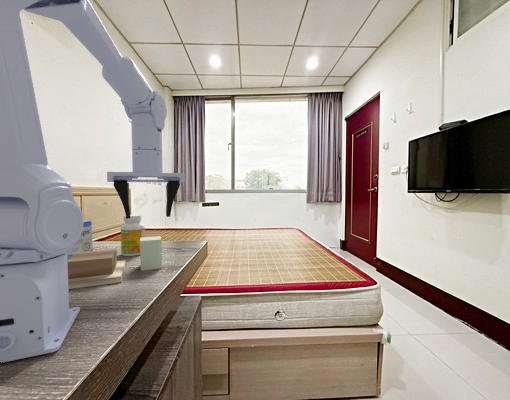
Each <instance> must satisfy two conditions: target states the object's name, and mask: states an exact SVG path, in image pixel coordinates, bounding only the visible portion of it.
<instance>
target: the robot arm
mask: <svg viewBox="0 0 510 400" xmlns="http://www.w3.org/2000/svg"><path fill="white" fill-rule="evenodd" d="M22 10H24V11H26V12H27V13H30V14H34V15H38V16H42V17H44V18H47V19H52V20H55V21H58V22H61V23H62V24H63V25H64V26H65V27H66V28H67V29H68V30H69V32H71V34H72V35H74V37H75V38H76V39H77V40H78V41H79V42H80V43H81V44H82V45H83V46H84V47H85V49H86V50H87V51H88V52H89V53H90V54H91V55H92V56H93V57H94V58H95V60H97V62H98V63H100V65H101V66H102V69H101V74H102V78H103V79H104V80H105V81H106V83H107V84H108V85H109V86H110V87H111V89H112V90H113V91H114V92H115V93H116V94H117V96H118V97H119V98H120V102H121V104H122V106H123V108H124V111H125V114H126V116H127V118H129V119H130V121H131V122H130V123H131V124H130V125H131V156H132V157H131V162H132V167H131V168H132V171H107V172H106V181H107V183H108V182H109V183H113V184H112V185H113V187H114V189H115V190H116V193H117V194H118V195H117V196H118V197H119V199H120V201H121V204H122V207H123V209H124V215H126V219H129V218H130V215H131V206H130V183H166V185H165V189H166V191H165V192H166V193H165V194H166V208H165V215H166V218H170V217H171V215H172V213H171V212H172V208H173V204H174V200H175V198H176V194H178V191H179V189H180V186H181V184H182V183H185V181H186V178H185V175H186V174H185V173H183V172H182V173H181V172H180V173H178V172H163V130H164V129H165V123H166V122H165V121H166V118H167V117H168V116H167V115H168V109H167V105H166V101H165V98H164V96H163V94H161V93H159V92H158V91H156V90H153V89H152V87H151V86H150V85H149V83H148V81H147V79H146V78H145V77H144V75H143V74H142V73H141V71H140V69H139V68H138V67H137V65H136V63H135V62H134V60H133V59H132V58H131V57H130V56H129V57H128V56H126V55H122V54H121V53H120V51H119V49H118V48H117V46H116V44H115V43H114V41H113V39H112V37H111V35H110V34H109V33H108V31H107V29H106V27H105V26H104V24H103V22H102V20H101V19H100V17H99V16H98V13H97V12H96V10H95V9H94V7H93V5H92V4H91V2H90V0H0V362H1V363H0V364H3V363H7V362H12V361H17V360H21V359H27V358H31V357H37V356H41V355H47V354H52V353H55V352H56V351H58V350H59V349H60V348H61V346H62V344H63V343H64V340H65V338H66V337H67V335H68V333H69V331H70V329H71V328H72V326H73V324H74V322H75V320H76V319H77V317H78V315H79V313H80V311H81V308H80V307H79V306H77V307H76V306H75V307H70V294H69V292H70V291H69V290H70V289H68V262H67V253H69V252H72V247H73V246H74V245H75V244H76V242H77V241H78V240H79V238H80V236H81V233H82V230H83V224H84V221H83V220H84V216H83V215H84V214H83V212H82V209H81V207H80V205H79V204H78V202H77V201H76V199H75V198H74V195H73V191H72V186H71V183H70V182H69V181H68V180H66V179H65V178H64V177H62V176H61V175H60V174H58V173H57V172H55V171H54V169H52V168H50V166H49V162H48V156H47V151H46V145H45V142H44V136H43V131H42V125H41V119H40V115H39V109H38V104H37V98H36V93H35V87H34V83H33V77H32V72H31V67H30V62H29V61H30V60H29V58H28V56H29V55H28V50H27V47H26V41H25V35H24V30H23V25H22V20H21V11H22ZM139 178H157V179H139ZM2 362H3V363H2Z"/></svg>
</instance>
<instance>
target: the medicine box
mask: <svg viewBox="0 0 510 400" xmlns="http://www.w3.org/2000/svg"><path fill="white" fill-rule="evenodd" d="M83 221H84V224H83V230H82V233H81V236H80V238H79V240H78V241H77V242H76V244H75V245H74V246H73V247H72V252H69V253H67V260H68V259H69V258H70V257H71V256H72V255H73V254H74V253H76V252H87V251H94V250H93V227H92V224H93V223H92V221H91V220H85V219H83Z"/></svg>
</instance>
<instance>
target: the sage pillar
mask: <svg viewBox="0 0 510 400" xmlns="http://www.w3.org/2000/svg"><path fill="white" fill-rule="evenodd" d="M162 245H163V244H162V237H161V235H158V236H145V237H141V238H140V255H139V257H140V262H139V263H140V271H152V270H159V269H163V264H162V263H163V260H162V259H163V257H162V254H163V251H162Z"/></svg>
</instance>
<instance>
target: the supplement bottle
mask: <svg viewBox="0 0 510 400" xmlns="http://www.w3.org/2000/svg"><path fill="white" fill-rule="evenodd" d="M141 221H142V214H130V218H129V219H126V215H125V214H124V215H123V222H124V223H123V224H122V225H121V226H120V249H121V250H120V253H121V255H122V256H123V257H134V256H140V238H141V237H146V236H145V233H146V230H145V224H144V223H142V222H141Z"/></svg>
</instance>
